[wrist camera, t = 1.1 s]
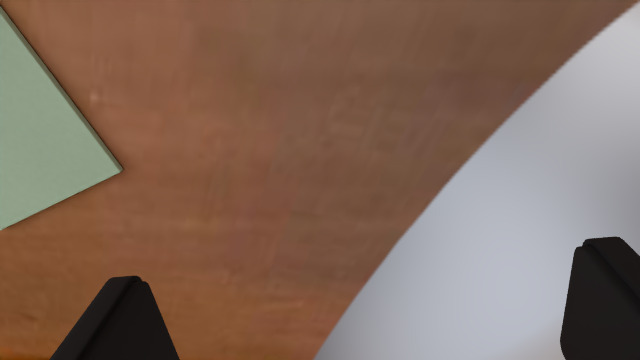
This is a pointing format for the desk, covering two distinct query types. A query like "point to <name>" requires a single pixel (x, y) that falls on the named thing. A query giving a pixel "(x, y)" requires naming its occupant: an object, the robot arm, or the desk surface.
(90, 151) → the desk mat
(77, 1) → the desk surface
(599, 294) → the robot arm
